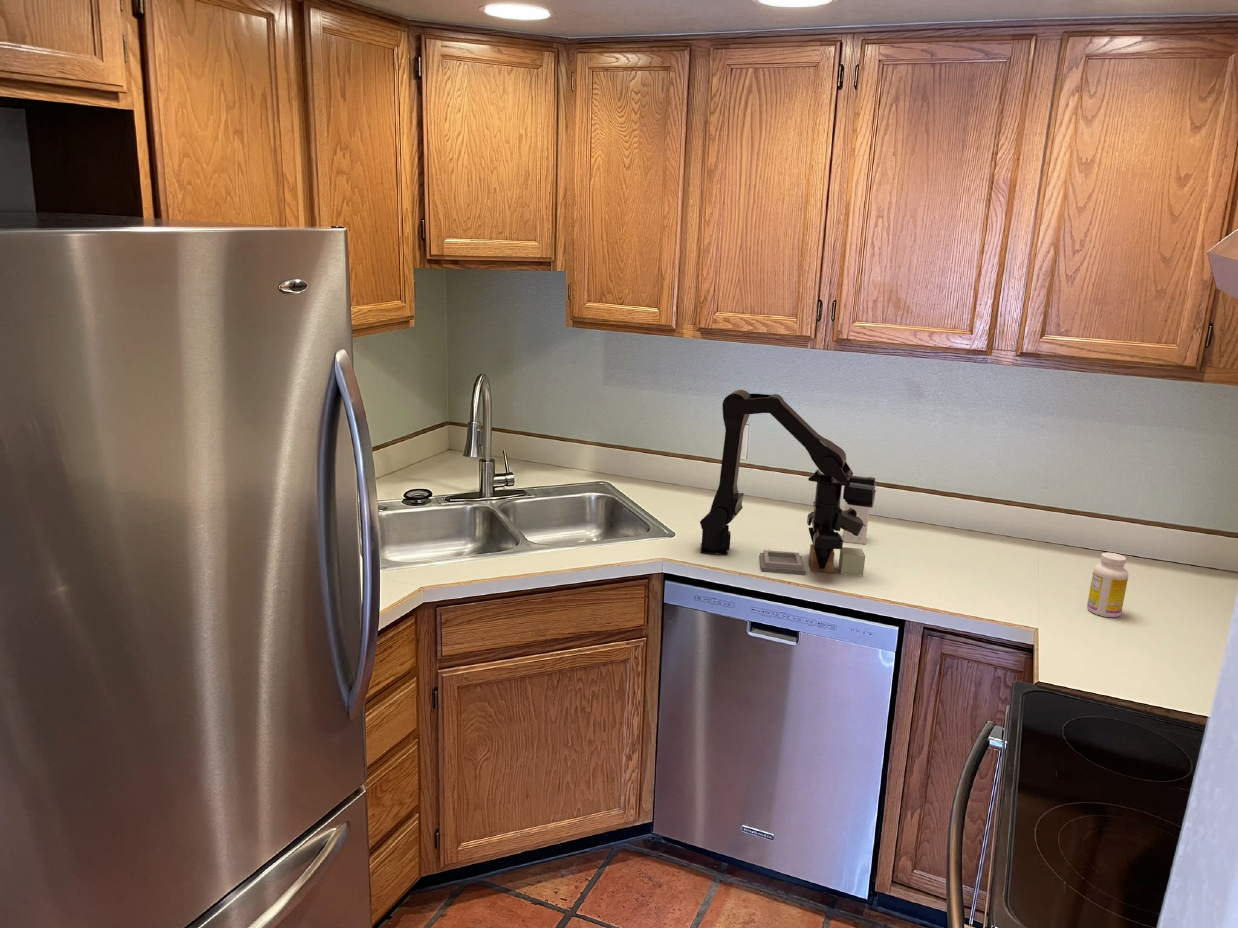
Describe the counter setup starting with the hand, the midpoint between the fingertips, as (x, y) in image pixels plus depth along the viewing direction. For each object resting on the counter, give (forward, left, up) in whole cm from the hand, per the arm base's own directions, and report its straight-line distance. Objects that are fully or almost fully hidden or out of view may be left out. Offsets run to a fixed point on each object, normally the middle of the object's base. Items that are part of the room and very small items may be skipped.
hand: (820, 564), depth 215 cm
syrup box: (+11, +23, -1) cm, 26 cm away
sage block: (+7, 0, -1) cm, 7 cm away
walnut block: (0, 0, -1) cm, 1 cm away
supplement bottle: (+59, -13, -1) cm, 60 cm away
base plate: (-9, 0, -1) cm, 9 cm away
